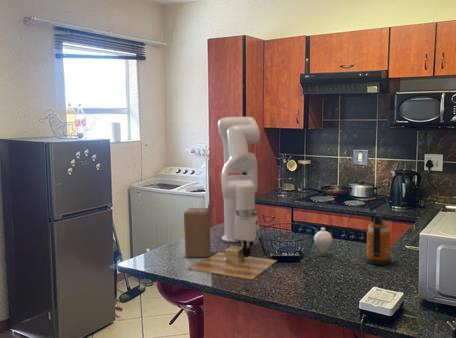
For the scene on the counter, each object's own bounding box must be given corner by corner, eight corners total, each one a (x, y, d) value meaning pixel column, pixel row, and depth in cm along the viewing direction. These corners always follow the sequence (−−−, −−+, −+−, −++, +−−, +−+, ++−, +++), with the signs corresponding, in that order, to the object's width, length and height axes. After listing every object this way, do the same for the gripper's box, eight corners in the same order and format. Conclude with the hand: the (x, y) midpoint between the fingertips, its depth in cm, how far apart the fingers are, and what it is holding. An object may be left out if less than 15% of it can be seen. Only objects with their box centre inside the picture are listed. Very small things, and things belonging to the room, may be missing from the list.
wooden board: (219, 252, 200) (219, 252, 200) (277, 260, 186) (277, 260, 186) (188, 269, 179) (188, 268, 178) (251, 279, 165) (251, 279, 165)
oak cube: (232, 257, 192) (231, 245, 191) (244, 259, 189) (244, 247, 189) (225, 261, 187) (225, 249, 186) (238, 263, 184) (237, 251, 183)
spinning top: (312, 257, 190) (312, 229, 189) (316, 251, 197) (316, 225, 196) (330, 258, 188) (330, 230, 186) (333, 253, 195) (333, 226, 193)
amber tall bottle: (390, 260, 184) (391, 212, 182) (387, 268, 174) (388, 218, 172) (368, 257, 188) (369, 211, 185) (364, 266, 178) (364, 216, 175)
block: (211, 251, 202) (210, 207, 200) (207, 258, 192) (206, 212, 190) (189, 250, 203) (188, 207, 201) (184, 257, 193) (183, 212, 191)
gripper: (266, 212, 184) (266, 256, 186) (234, 209, 191) (235, 251, 193) (258, 216, 177) (259, 261, 179) (225, 213, 184) (226, 256, 186)
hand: (246, 256), depth 186 cm, fingers closed
